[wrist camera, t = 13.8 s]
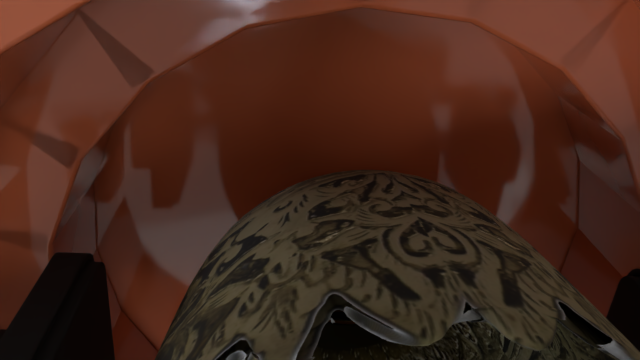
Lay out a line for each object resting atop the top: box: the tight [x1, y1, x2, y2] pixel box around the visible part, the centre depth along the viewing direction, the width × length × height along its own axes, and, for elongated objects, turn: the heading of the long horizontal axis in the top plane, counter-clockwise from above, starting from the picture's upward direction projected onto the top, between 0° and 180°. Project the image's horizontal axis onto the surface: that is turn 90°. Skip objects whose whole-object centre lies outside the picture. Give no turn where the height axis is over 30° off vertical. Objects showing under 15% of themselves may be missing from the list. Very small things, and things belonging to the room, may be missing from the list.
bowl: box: [0, 0, 640, 360], centre depth 12 cm, size 15×15×6 cm
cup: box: [155, 170, 640, 360], centre depth 10 cm, size 8×7×8 cm
